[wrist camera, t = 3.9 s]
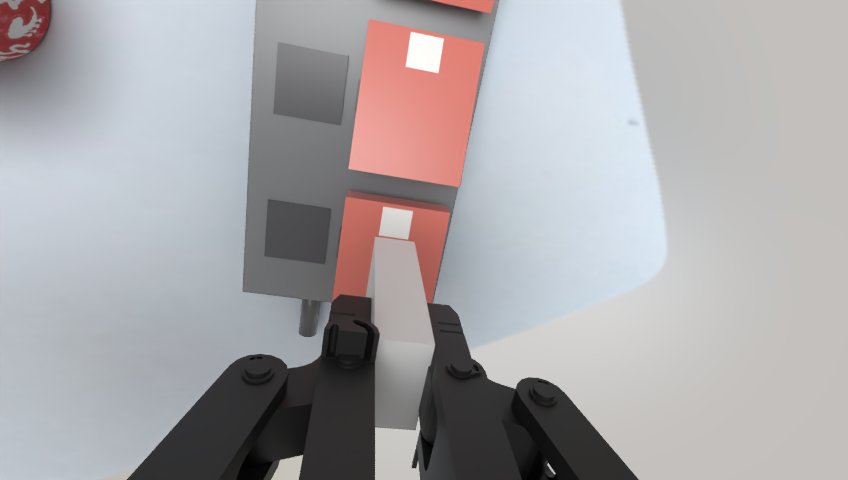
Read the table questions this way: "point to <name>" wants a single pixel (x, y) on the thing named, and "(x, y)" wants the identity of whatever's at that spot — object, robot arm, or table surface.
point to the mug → (22, 26)
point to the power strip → (322, 136)
